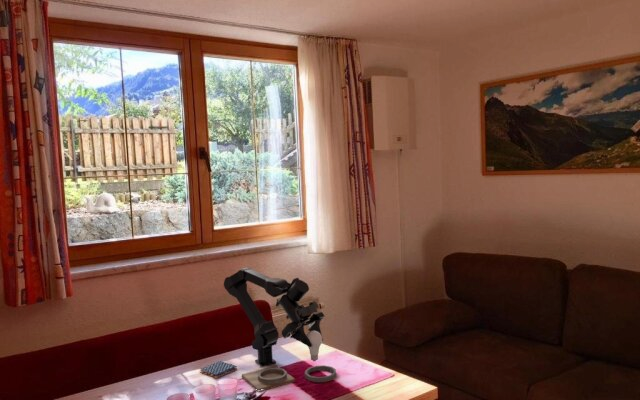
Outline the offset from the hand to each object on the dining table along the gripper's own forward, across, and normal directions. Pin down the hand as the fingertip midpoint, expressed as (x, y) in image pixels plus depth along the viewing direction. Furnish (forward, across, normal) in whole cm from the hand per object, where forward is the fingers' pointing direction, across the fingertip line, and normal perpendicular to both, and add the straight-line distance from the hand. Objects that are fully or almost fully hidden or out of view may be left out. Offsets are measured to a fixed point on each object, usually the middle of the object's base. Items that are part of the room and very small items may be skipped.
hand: (316, 343), depth 177 cm
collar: (+9, +2, +9) cm, 13 cm away
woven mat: (-16, -16, +35) cm, 41 cm away
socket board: (-1, -11, +19) cm, 22 cm away
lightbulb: (+4, 0, +6) cm, 7 cm away
